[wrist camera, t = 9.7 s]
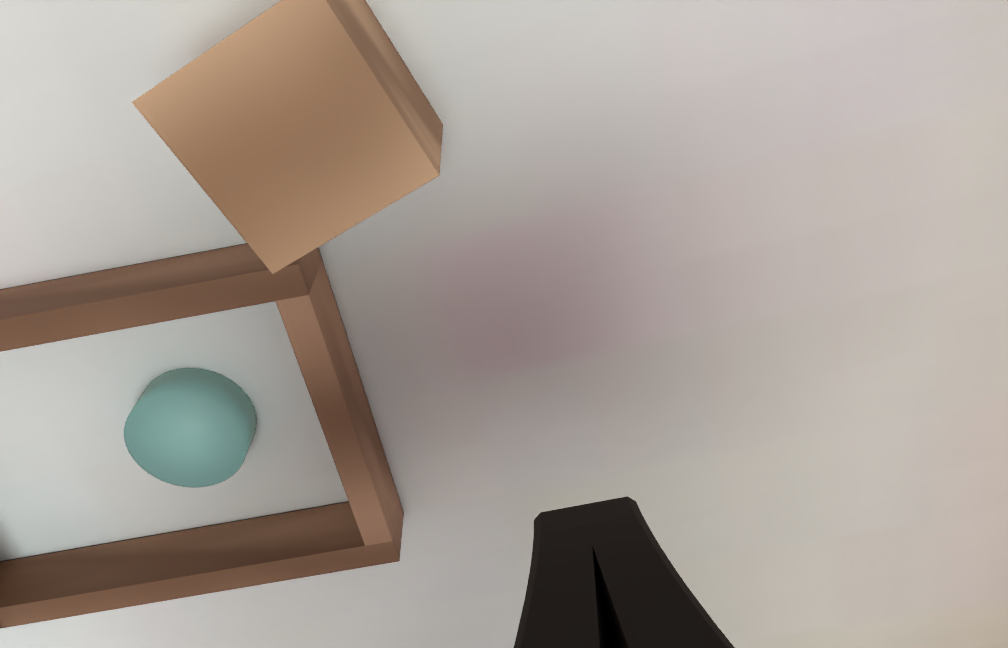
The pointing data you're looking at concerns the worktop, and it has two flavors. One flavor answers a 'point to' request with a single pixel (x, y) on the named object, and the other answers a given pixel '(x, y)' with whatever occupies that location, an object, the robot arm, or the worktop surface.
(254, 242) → the beech block
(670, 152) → the worktop surface
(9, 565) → the frame
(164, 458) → the teal disc
